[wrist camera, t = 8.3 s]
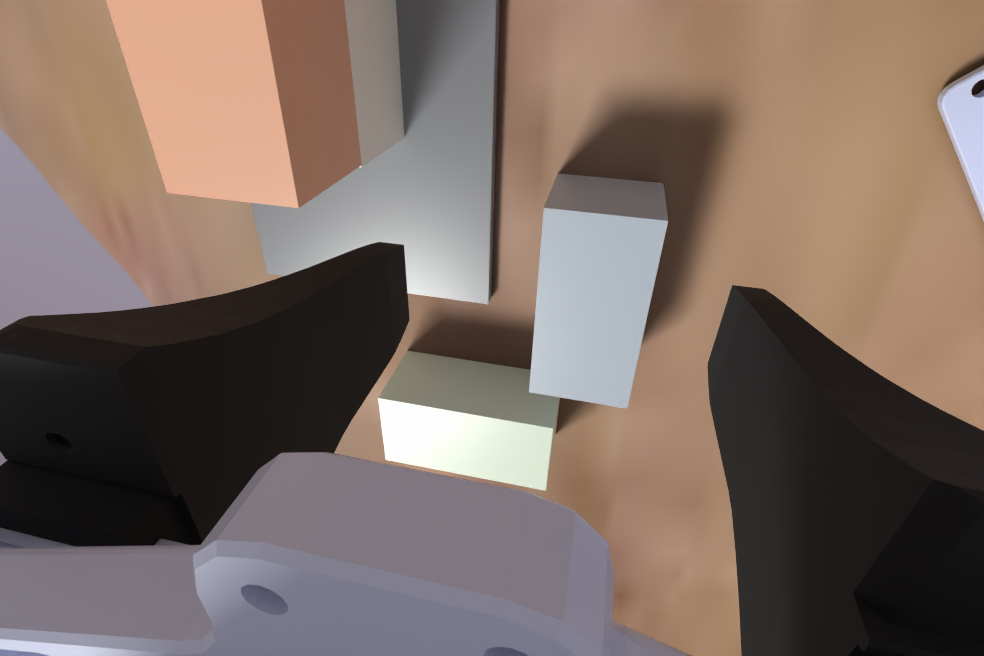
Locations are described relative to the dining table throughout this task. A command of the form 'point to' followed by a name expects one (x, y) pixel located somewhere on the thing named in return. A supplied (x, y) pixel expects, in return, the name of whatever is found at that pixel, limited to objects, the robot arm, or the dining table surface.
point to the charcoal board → (417, 165)
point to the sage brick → (468, 419)
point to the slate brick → (595, 286)
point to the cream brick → (375, 74)
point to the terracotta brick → (243, 95)
